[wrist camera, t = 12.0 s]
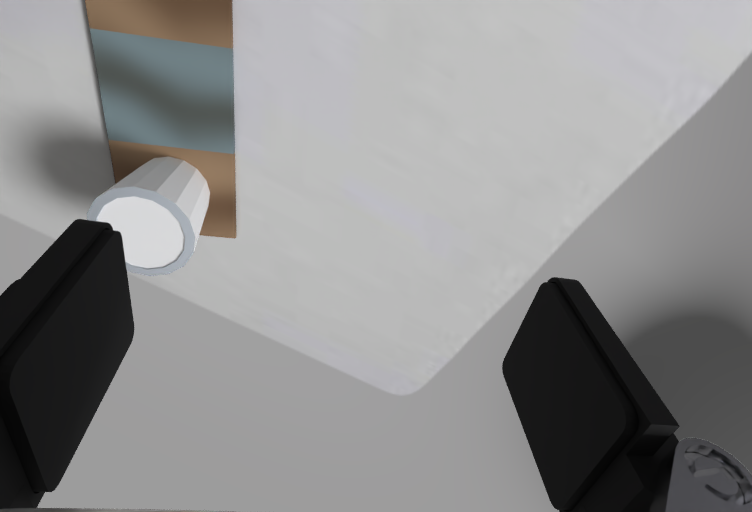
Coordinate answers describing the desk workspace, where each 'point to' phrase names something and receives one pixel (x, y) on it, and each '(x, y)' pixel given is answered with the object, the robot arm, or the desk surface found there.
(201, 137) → the game board
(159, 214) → the white cup
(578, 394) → the robot arm
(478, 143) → the desk surface
